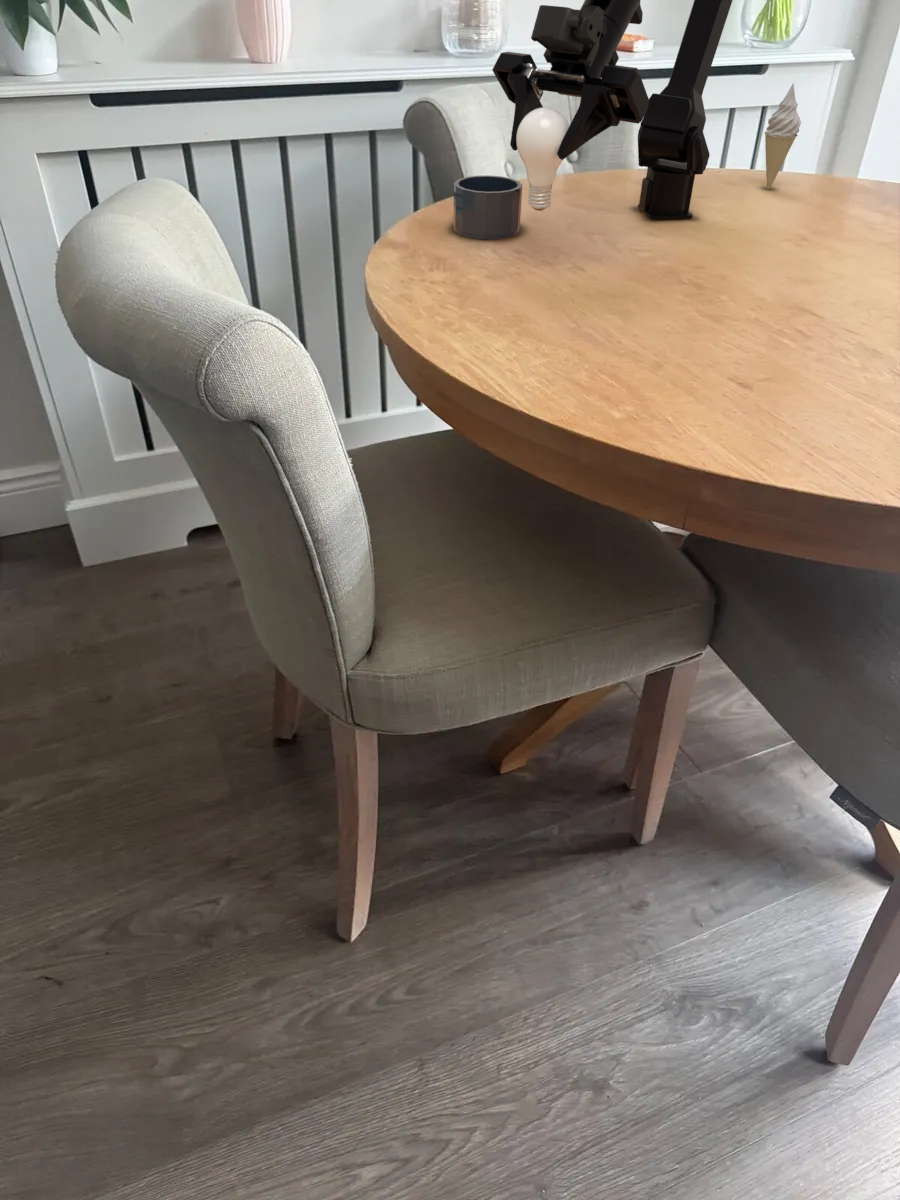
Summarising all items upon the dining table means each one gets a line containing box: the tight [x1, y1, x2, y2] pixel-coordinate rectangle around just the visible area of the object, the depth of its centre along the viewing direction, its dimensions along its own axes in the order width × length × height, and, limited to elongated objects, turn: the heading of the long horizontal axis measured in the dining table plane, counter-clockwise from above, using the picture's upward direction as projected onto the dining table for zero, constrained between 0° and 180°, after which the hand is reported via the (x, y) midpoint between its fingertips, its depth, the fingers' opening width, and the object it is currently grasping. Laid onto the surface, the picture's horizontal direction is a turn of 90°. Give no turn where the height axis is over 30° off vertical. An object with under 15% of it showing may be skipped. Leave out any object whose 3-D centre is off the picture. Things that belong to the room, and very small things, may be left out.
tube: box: [452, 174, 523, 241], centre depth 121 cm, size 9×9×6 cm
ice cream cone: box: [763, 83, 802, 190], centre depth 137 cm, size 5×5×15 cm
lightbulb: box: [516, 106, 570, 212], centre depth 102 cm, size 6×6×11 cm
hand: (535, 152), depth 101 cm, fingers closed on lightbulb, 6 cm apart
